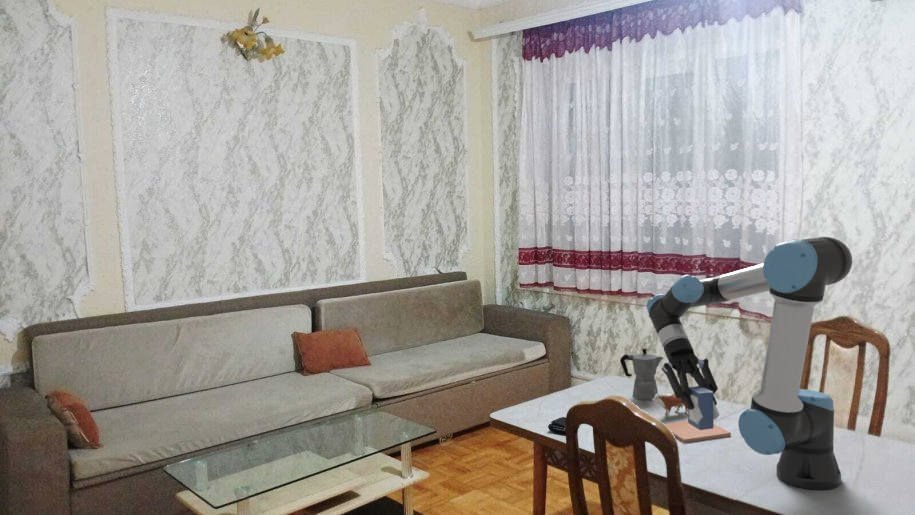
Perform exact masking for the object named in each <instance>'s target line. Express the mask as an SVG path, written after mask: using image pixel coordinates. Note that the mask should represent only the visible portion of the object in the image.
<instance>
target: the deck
mask: <svg viewBox="0 0 915 515" xmlns="http://www.w3.org/2000/svg"><path fill="white" fill-rule="evenodd" d="M689 390H690V396H691V395H694V397H695V399H696V402H697V404H698V406H699V409H700V411H701V413H702V416H703V418H702V419H701V420H700V421H699V422H696V419H695V417H694V414H693V412H692V410H689V409H688V412H687V421H688V423H689V424H691V425H692V426H694V427H696V428H697V429H699V430H705V429H713V428H714V426H713V424H714V420H713V395H714V394H713V392H712V391H710V390H708V389H706V388H704V387H702V386H699V385H695V386H689Z"/></svg>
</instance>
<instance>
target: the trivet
mask: <svg viewBox="0 0 915 515" xmlns="http://www.w3.org/2000/svg"><path fill="white" fill-rule="evenodd" d="M665 425H666V426H667V427H668V428H669V429H670V430H671V431H672V433H673V434H674V436H675V437H674V436H673V437H674V438H676V437H677V438H678V440H679V439H680V440H679V441H680V442H682V443H684V444H685V443H690V442H692V443H693V442H699V441H705V440H712V439H718V438H720V439H721V438H726V437H731V436H732V434H731V432H730V431H728V430H726V429H724V428H722V427H721V426H719V425H717V424H716V423H713V426H714V428H713V429H705V430H699V429H697V428H696V427H694V426H692V425H691V424H689V423H688V420H685V421H678V422H672V423H671V422H670V423H665ZM677 438H676V439H677Z"/></svg>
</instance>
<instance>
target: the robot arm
mask: <svg viewBox="0 0 915 515" xmlns="http://www.w3.org/2000/svg"><path fill="white" fill-rule="evenodd" d="M852 265H853V256H852V252H851V251H850V249H849V248H848V246H847V245H846V244H845V243H844V242H843V241H841V240H839V239H837V238H834V237H831V236H820V237H819V236H817V237H812V238H803V239H791V240H787V241H784V242H781V243H778V244H777V245H775V246H774V247H772V248H771V249H770V250H769V251H768V252H767V254H766V255H765V257H764V260H763V263H759V264H756V265H754V266H753V265H752V266H750V267H746V268H743V269H738V270H735V271H732V272H728V273H724V274H720V275H718V276H713V277H710V278H709V277H708V278H702V279H700V278H697V277H696V276H694V275H690V274H685V275H682V276H680V277H679V279H678V280H676V281H675V282H674V283H673V285H672V286H671V287H670V288H669V290H668V291H666V293H660V294H656V295H653V297H650V298H649V299H648V301H647V302H646V304H645V306H646V309H647V313H648V317H649V319H650V320H651V323H652V325H653V328H654V329H655V332H656V336H658V339H659V342H660V344H661V346H662V348H663V351H664V352H663V353H664V354H665V356H666V359H667V360H668V362H664V364H663V365H662V367H661V370H662V372H663V373H664V374H665V376H666V378H667V380H668V382H669V384H670V387H671V388H672V389H671V390H672V391H673V394H675V396H676V397H677V398H682V400H683V401H685V402H686V404H687V407H688V409H689V410H692V412H693V414H694V417H695V419H696V422H699V421H700V420H701V419H702V418H703V416H702V413H701V411H700V409H699V406H698V404H697V402H696V399H695V397H694V395H691V396H690V390H689V387H690V386H689V381H688V377H687V374H689V376H690V377H691V378H693V380H694V381H695V383H696V384H697V386H702V387H704V388H706V389H708V390H710V391H712V392H713V421H715V420H717V419H718V418H719V416H720V415H721V414H720V412H719V410H718V408H717V404H718V402H717V399H716V397H715V396H714V395H715V394H716V392H718V389H719V387H718V385H717V383H716V380H715V378H714V376H713V373H712V371H711V369H710V366H709V359H707V358H704V359H701V358H700V359H699V358H698V356H697V355H695V352H694V348H693V346H692V343H691V342H690V339H689V337H688V334H687V333H686V330H685V328H684V326H683V323H682V321H681V317H683V315H685V313H686V312H687V311H688V310H690V309H692V308H697V307H703V306H708V305H715V304H722V303H727V302H729V301H732V300H736V299H741V298H745V297H749V296H753V295H754V296H755V295H757V294H758V295H759V294H762V293H766V292H769V294H770V295H771V296H772V298H773V299H774V304H773V309H772V316H771V322H770V327H769V335H768V340H767V345H766V346H767V347H766V351H765V359H764V364H763V370H762V376H761V381H760V382H761V384H760V389H758V390H756V391H754V392H753V394H752V395H751V396H752V397H751V402H750V408H747V409H745V410H744V411H743V412H742V413H740V415H739V418H738V430H739V433H740V435H741V437H742V439H744V442H745V444H746V445H747V446H748V447H749V448H750V449H751V450H753V451H754V452H755V453H757V454H760V455H765V456H769V455H778V454H780V453H781V454H780V457H779V460H778V462H777V463H776V468H775V469H776V472H775V473H776V476H777V478H778V479H779V480H781V481H782V482H784V483H785V484H788V485H790V486H794V487H797V488H800V489H801V488H802V489H807V490H816V491H819V490H820V491H821V490H823V491H825V490H831V489H835V488H838V487H839V486H841V484H842V473H841V470H840V467H839V464H838V461H837V457H836V455H835V453H834V441H835V440H834V439H835V438H834V432H835V430H834V427H835V426H834V425H835V423H834V422H835V409H834V408H835V406H834V400H833V397H831V396H830V395H828V394H826V393H824V392H820V391H817V390H811V389H805V388H804V389H803V388H801V383H802V378H803V372H804V365H805V361H806V354H807V351H808V350H807V349H808V344H809V339H810V333H811V327H812V321H813V317H814V310H815V306H817V305H818V304H821V303H822V302H823V301H824V297H825V296H824V295H825V292H826V290H825V289H826V286H829V285H834V284H837V283H839V282H840V281H842V280H844V279H845V278H846V277H847V276H848V274H849V273H850V272H851V269H852ZM700 369H701V370H700ZM675 371H676V373H677V374H676V373H675ZM700 371H701V372H700Z"/></svg>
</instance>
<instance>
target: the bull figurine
mask: <svg viewBox="0 0 915 515" xmlns="http://www.w3.org/2000/svg"><path fill="white" fill-rule="evenodd" d="M651 401H652V402H653V403H655V402H656V403H657V404H659V405H660V407H662V408H663V409H664V410H665V413H664V415H665V418H667V417H670V413H671V410H672V408H673V407H674V408H675V410H674V413H678V412H680V408H681V409H682V408H683V407H684V408H685V409H684V414H685V415H688V407H687V404H686V402H685V401H683V400H682V398H677V397H676V396H675V394H674V393H662V394H661V393H660V392H658V393H657V394H656V395H655V397H654V398H653V399H652V400H651Z"/></svg>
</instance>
